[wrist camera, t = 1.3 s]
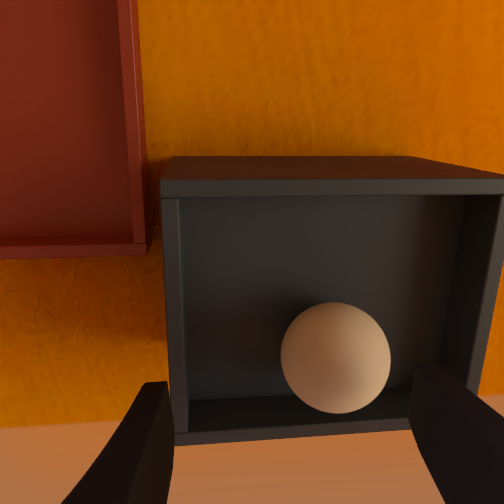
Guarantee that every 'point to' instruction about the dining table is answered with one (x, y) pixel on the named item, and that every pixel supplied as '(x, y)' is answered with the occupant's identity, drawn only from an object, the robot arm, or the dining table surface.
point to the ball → (335, 357)
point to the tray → (72, 130)
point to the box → (320, 280)
